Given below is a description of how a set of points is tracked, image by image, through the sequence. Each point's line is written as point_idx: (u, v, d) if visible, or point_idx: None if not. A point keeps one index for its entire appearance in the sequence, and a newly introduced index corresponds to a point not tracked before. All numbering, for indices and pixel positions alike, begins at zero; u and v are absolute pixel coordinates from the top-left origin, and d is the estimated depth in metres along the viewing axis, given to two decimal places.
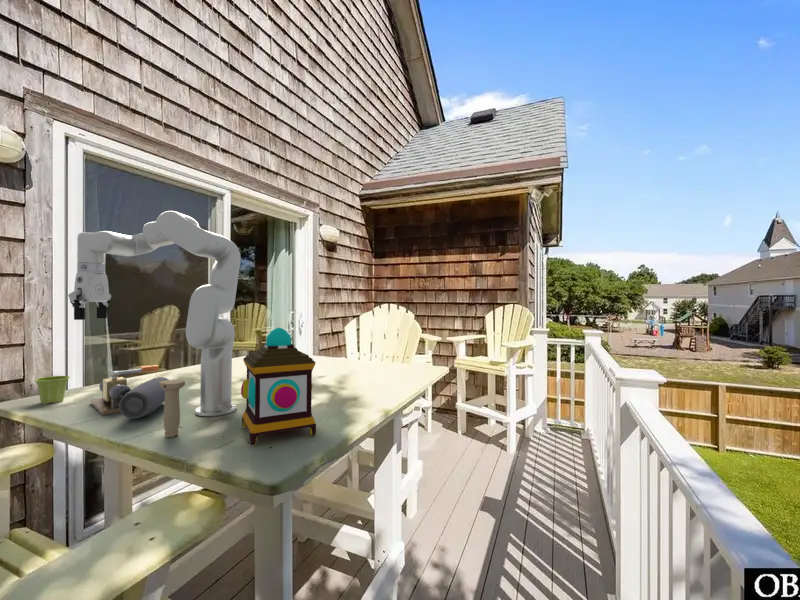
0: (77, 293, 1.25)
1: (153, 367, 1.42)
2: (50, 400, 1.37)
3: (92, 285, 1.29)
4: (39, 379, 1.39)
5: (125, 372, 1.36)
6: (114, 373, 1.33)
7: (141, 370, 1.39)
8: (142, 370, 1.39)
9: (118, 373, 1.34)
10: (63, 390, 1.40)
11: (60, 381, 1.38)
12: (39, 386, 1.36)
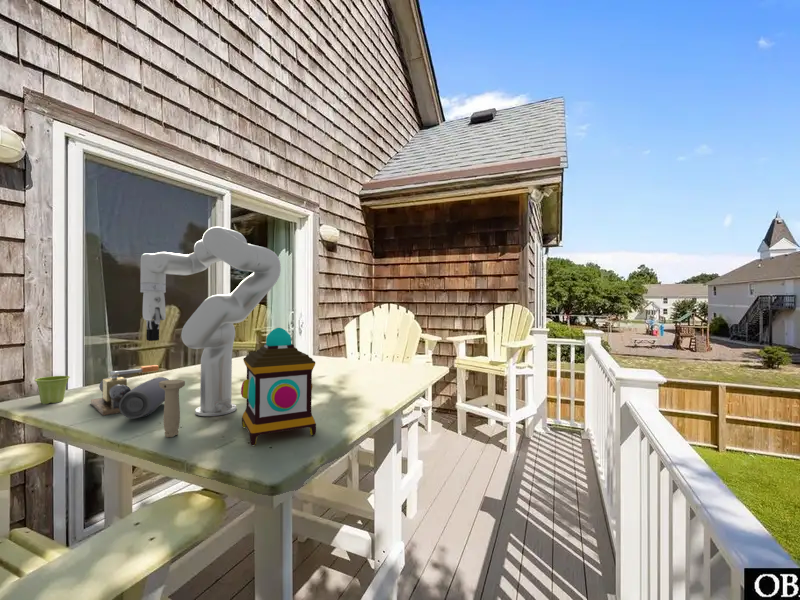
0: None
1: (153, 367, 1.42)
2: (50, 400, 1.37)
3: None
4: (39, 379, 1.39)
5: (125, 372, 1.36)
6: (114, 373, 1.33)
7: (141, 370, 1.39)
8: (142, 370, 1.39)
9: (118, 373, 1.34)
10: (63, 390, 1.40)
11: (60, 381, 1.38)
12: (39, 386, 1.36)
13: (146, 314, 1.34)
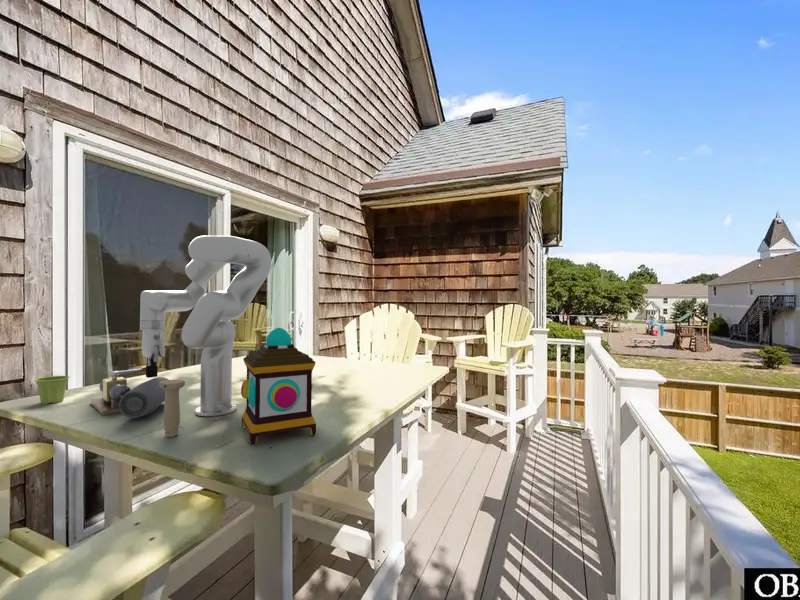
0: None
1: None
2: (50, 400, 1.37)
3: None
4: (39, 379, 1.39)
5: (125, 372, 1.36)
6: (114, 373, 1.33)
7: (141, 370, 1.39)
8: (142, 370, 1.39)
9: (118, 373, 1.34)
10: (63, 390, 1.40)
11: (60, 381, 1.38)
12: (39, 386, 1.36)
13: (145, 351, 1.34)
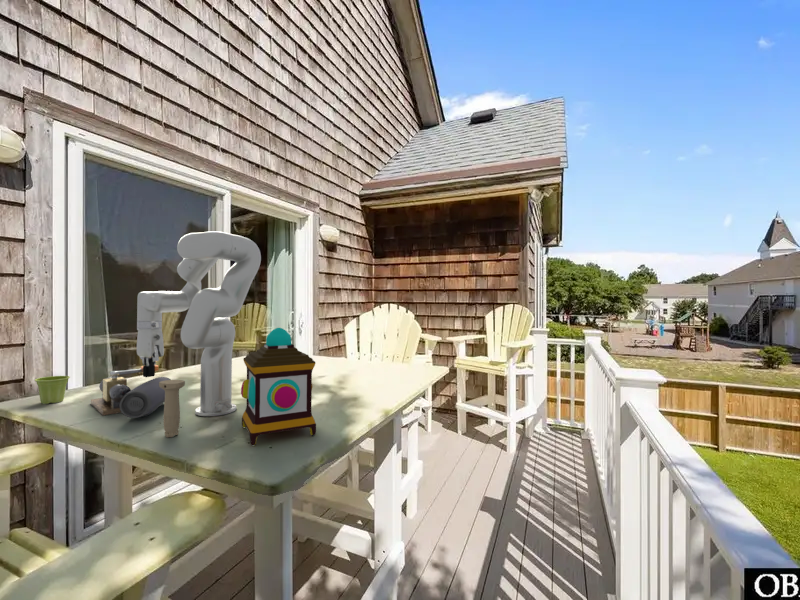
0: None
1: None
2: (50, 400, 1.37)
3: None
4: (39, 379, 1.39)
5: (125, 372, 1.36)
6: (114, 373, 1.33)
7: (141, 370, 1.39)
8: (142, 370, 1.39)
9: (118, 373, 1.34)
10: (63, 390, 1.40)
11: (60, 381, 1.38)
12: (39, 386, 1.36)
13: (144, 351, 1.36)
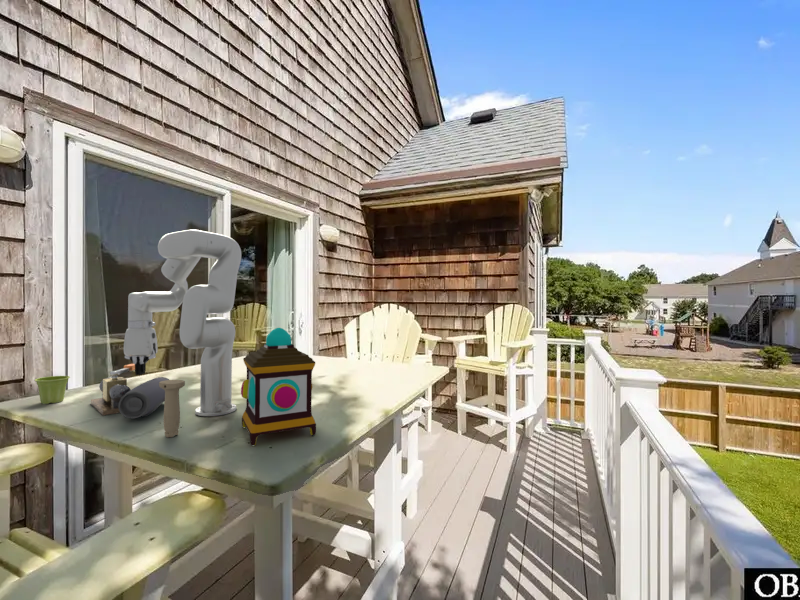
0: None
1: None
2: (50, 400, 1.37)
3: None
4: (39, 379, 1.39)
5: (122, 371, 1.37)
6: (118, 373, 1.34)
7: (130, 368, 1.42)
8: (131, 368, 1.42)
9: (119, 372, 1.35)
10: (63, 390, 1.40)
11: (60, 381, 1.38)
12: (39, 386, 1.36)
13: (139, 350, 1.41)
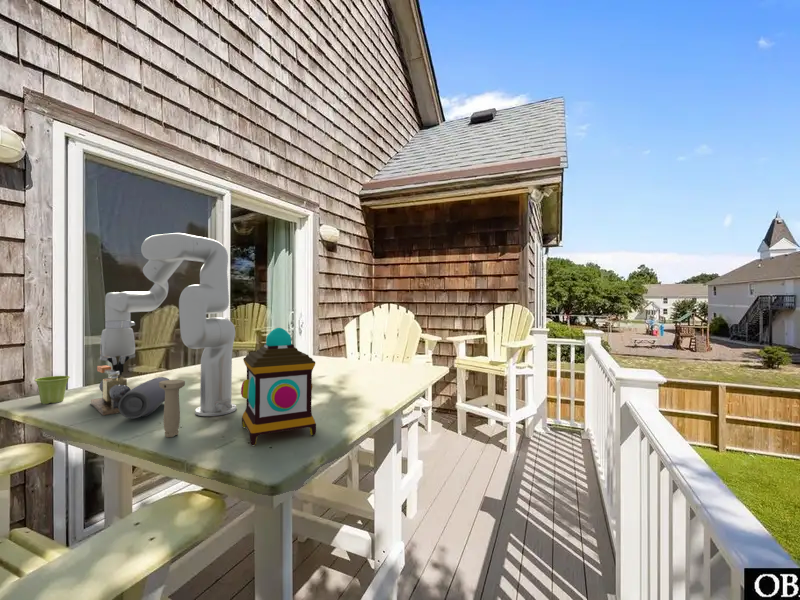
0: None
1: None
2: (50, 400, 1.37)
3: None
4: (39, 379, 1.39)
5: None
6: None
7: None
8: None
9: None
10: (63, 390, 1.40)
11: (60, 381, 1.38)
12: (39, 386, 1.36)
13: (123, 350, 1.42)
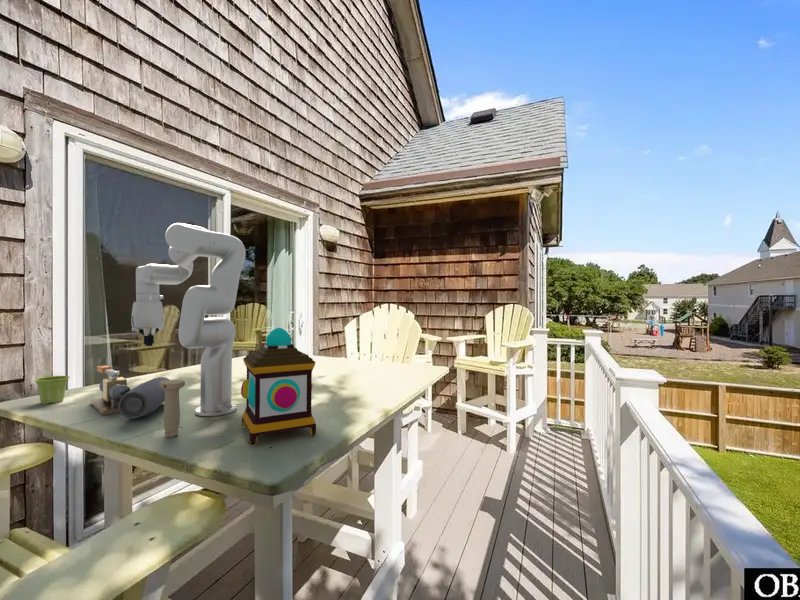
0: None
1: None
2: (50, 400, 1.37)
3: None
4: (39, 379, 1.39)
5: None
6: None
7: None
8: None
9: None
10: (63, 390, 1.40)
11: (60, 381, 1.38)
12: (39, 386, 1.36)
13: (153, 321, 1.47)
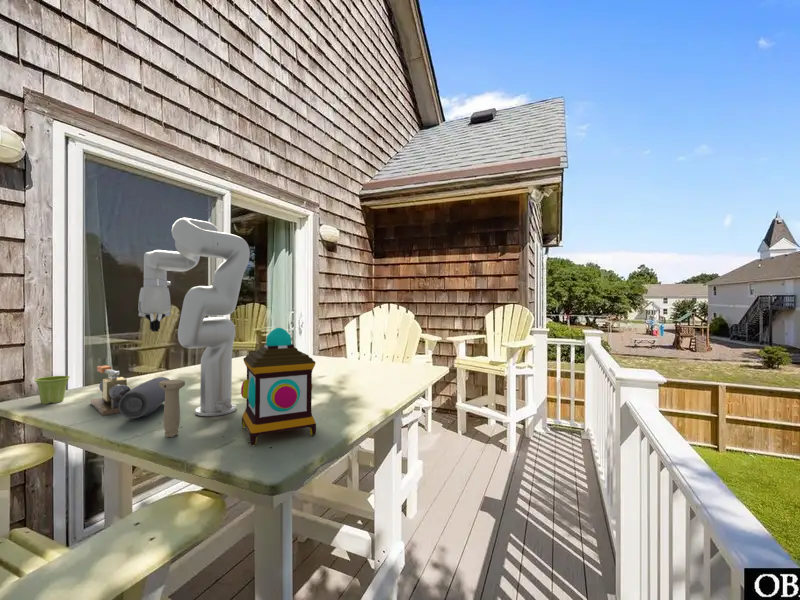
0: None
1: None
2: (50, 400, 1.37)
3: None
4: (39, 379, 1.39)
5: None
6: None
7: None
8: None
9: None
10: (63, 390, 1.40)
11: (60, 381, 1.38)
12: (39, 386, 1.36)
13: (160, 307, 1.49)
